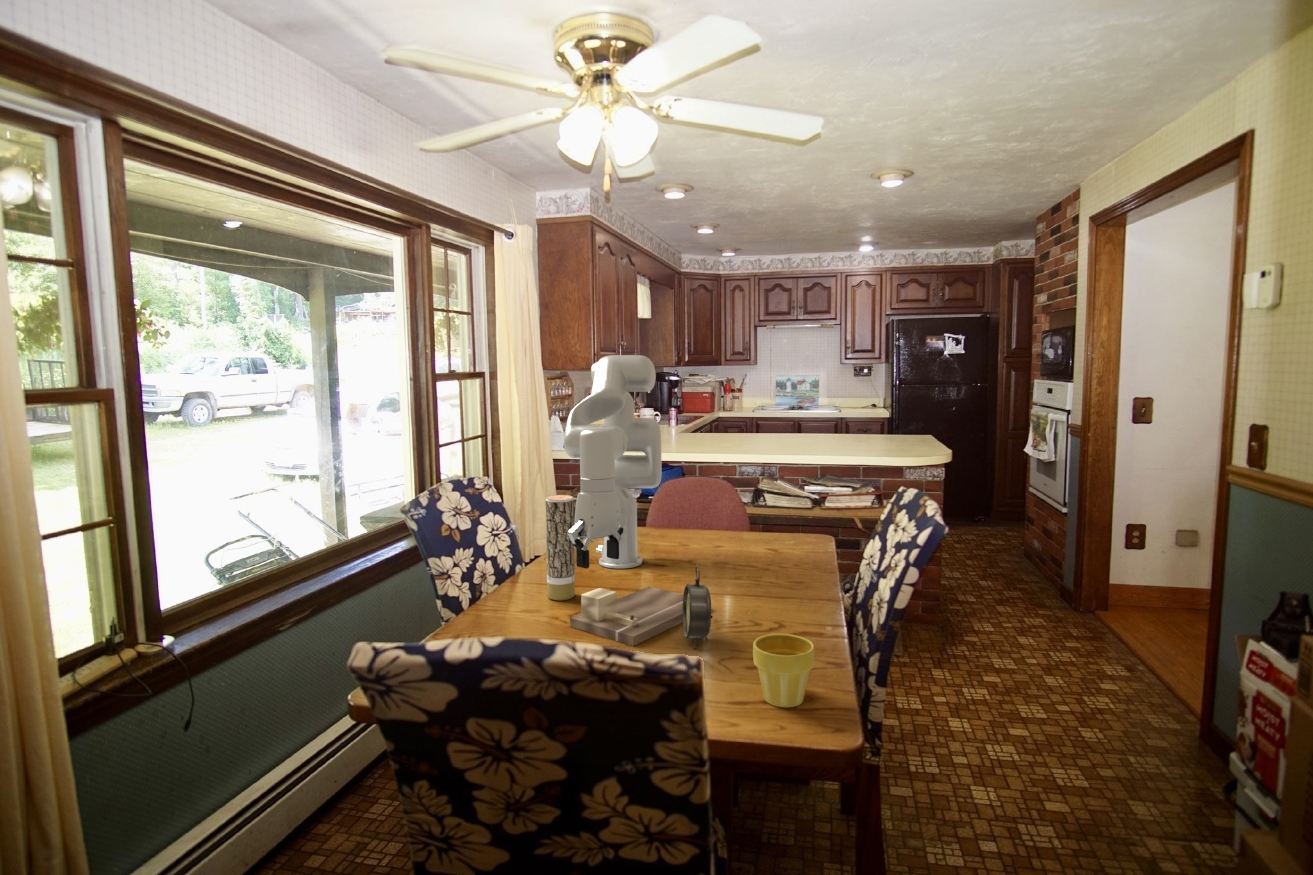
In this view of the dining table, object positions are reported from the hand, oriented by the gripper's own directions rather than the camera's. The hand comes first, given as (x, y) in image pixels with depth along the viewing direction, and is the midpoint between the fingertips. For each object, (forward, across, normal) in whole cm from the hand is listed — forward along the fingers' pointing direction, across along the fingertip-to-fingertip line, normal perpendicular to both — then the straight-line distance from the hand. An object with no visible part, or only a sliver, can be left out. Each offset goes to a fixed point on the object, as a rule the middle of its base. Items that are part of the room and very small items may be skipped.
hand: (598, 562), depth 155 cm
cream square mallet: (+12, -1, +4) cm, 13 cm away
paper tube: (+14, -8, -20) cm, 26 cm away
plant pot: (+15, +6, +49) cm, 51 cm away
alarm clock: (+14, -6, +23) cm, 27 cm away
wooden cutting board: (+14, -10, +5) cm, 17 cm away
